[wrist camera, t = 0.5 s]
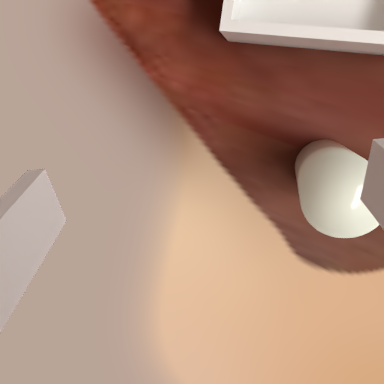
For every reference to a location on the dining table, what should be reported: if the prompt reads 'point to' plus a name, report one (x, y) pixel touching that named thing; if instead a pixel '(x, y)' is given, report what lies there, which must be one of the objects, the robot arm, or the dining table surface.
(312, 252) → the dining table surface
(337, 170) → the canister
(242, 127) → the dining table surface
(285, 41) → the tote
